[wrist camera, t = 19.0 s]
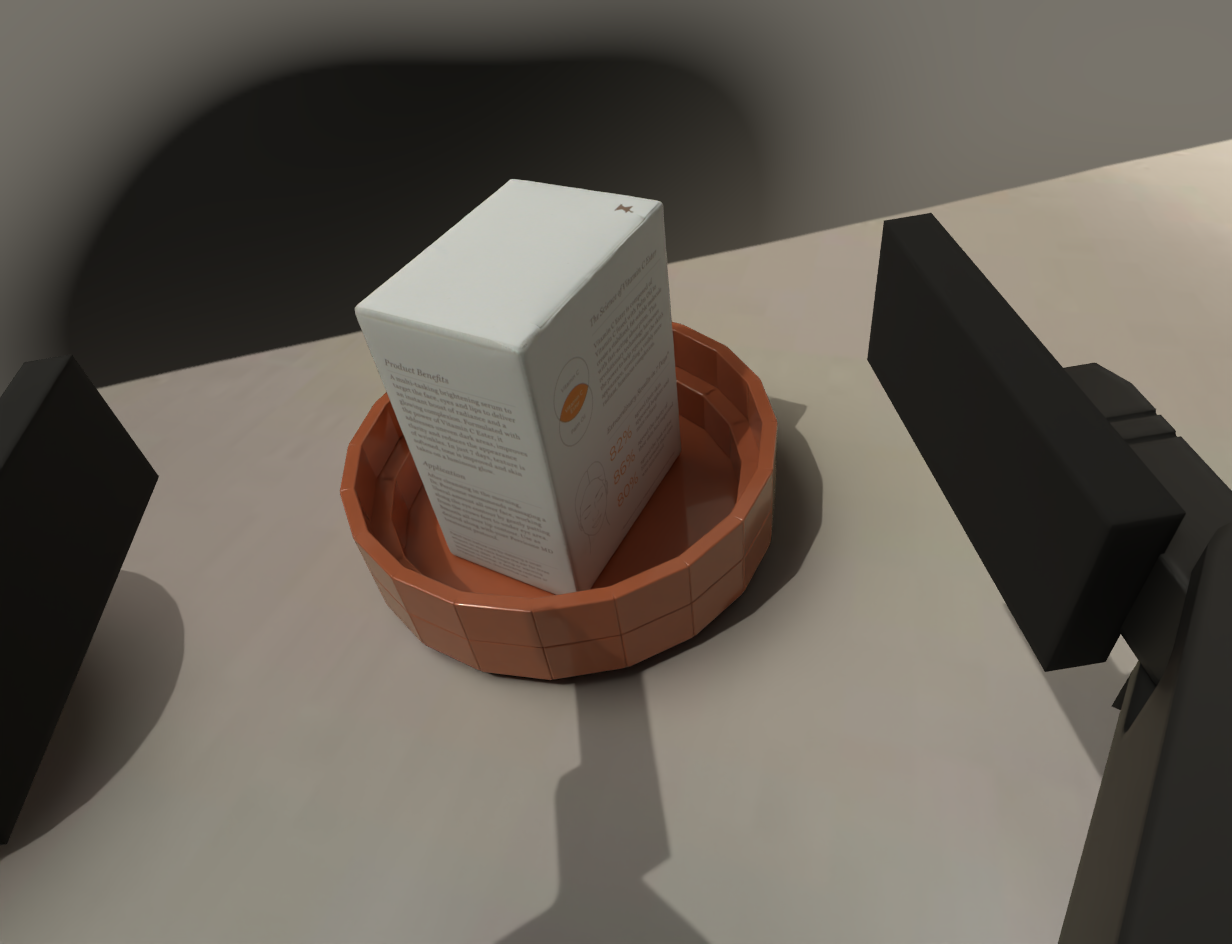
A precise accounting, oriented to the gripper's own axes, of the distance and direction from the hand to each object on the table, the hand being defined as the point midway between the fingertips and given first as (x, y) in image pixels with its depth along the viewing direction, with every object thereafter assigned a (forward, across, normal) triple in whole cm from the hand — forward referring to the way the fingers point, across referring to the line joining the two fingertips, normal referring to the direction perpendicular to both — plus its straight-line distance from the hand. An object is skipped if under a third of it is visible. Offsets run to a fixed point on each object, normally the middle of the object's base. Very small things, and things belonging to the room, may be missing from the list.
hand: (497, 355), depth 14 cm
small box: (+10, 0, -14) cm, 17 cm away
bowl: (+10, 0, -14) cm, 17 cm away
